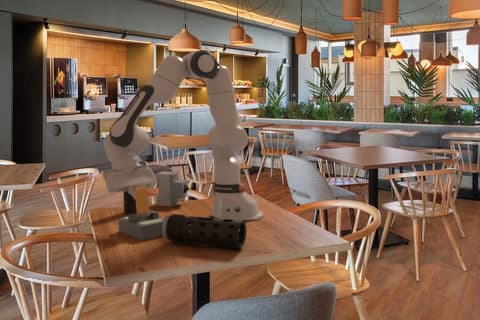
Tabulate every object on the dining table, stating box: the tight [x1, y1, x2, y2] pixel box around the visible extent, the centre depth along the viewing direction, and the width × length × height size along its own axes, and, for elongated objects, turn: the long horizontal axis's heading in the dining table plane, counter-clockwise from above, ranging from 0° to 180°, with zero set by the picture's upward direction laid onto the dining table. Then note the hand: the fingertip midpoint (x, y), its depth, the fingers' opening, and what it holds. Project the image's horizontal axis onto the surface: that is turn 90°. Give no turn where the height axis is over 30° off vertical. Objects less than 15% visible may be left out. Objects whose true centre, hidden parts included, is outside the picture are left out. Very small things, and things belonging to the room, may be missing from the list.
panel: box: [118, 209, 165, 241], centre depth 193 cm, size 16×12×8 cm
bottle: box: [122, 190, 137, 215], centre depth 225 cm, size 7×7×20 cm
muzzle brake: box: [162, 213, 247, 250], centre depth 177 cm, size 10×28×10 cm, turn 72°
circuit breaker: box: [156, 171, 190, 207], centre depth 241 cm, size 8×14×15 cm, turn 78°
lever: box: [134, 186, 151, 219], centre depth 193 cm, size 2×5×12 cm, turn 133°
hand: (138, 198), depth 193 cm, fingers closed, pressing on lever
